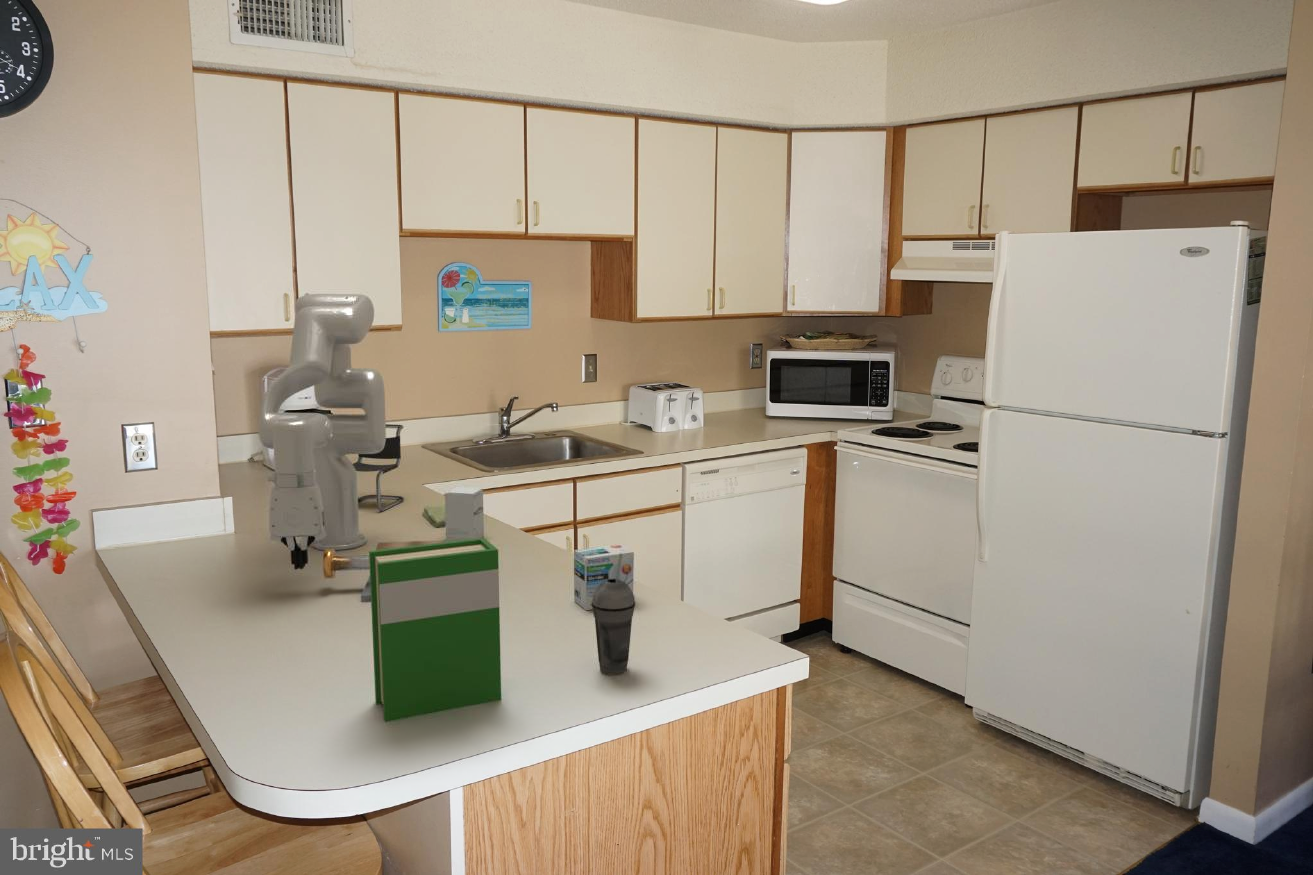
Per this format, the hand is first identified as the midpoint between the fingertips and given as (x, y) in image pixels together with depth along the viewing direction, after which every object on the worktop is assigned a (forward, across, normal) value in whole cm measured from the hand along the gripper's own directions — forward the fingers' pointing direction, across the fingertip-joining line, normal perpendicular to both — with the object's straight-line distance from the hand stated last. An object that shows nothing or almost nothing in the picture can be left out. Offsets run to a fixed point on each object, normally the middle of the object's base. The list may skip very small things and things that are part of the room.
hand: (300, 567), depth 199 cm
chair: (+5, +5, +76) cm, 76 cm away
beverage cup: (+6, +59, -49) cm, 77 cm away
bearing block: (+5, +24, 0) cm, 25 cm away
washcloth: (+6, +27, +58) cm, 64 cm away
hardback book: (+6, +31, -57) cm, 65 cm away
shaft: (+2, +15, 0) cm, 15 cm away
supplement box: (+5, +32, +36) cm, 49 cm away
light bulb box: (+6, +61, -15) cm, 63 cm away
